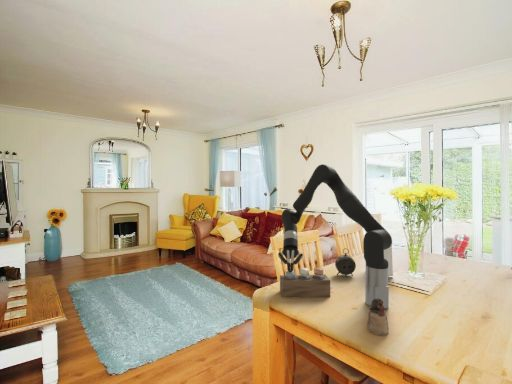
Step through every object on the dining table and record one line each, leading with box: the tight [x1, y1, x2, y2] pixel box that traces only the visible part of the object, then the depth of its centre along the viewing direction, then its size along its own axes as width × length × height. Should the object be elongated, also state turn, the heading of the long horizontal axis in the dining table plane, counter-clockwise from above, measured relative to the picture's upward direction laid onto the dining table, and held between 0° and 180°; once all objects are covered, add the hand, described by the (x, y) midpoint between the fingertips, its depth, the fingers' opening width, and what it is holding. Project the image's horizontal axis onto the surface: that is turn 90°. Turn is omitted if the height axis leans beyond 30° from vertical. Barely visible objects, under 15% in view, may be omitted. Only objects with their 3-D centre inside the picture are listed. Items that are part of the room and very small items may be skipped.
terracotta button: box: [313, 267, 324, 275], centre depth 132 cm, size 4×4×2 cm
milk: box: [384, 245, 394, 277], centre depth 161 cm, size 12×12×26 cm
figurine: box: [366, 298, 389, 336], centre depth 99 cm, size 7×7×12 cm
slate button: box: [285, 270, 296, 279], centre depth 132 cm, size 4×4×2 cm
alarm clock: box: [334, 247, 357, 278], centre depth 158 cm, size 11×5×16 cm, turn 84°
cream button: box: [299, 267, 310, 276], centre depth 132 cm, size 4×4×2 cm
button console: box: [279, 274, 331, 298], centre depth 132 cm, size 8×23×8 cm, turn 93°
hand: (290, 271), depth 132 cm, fingers closed
